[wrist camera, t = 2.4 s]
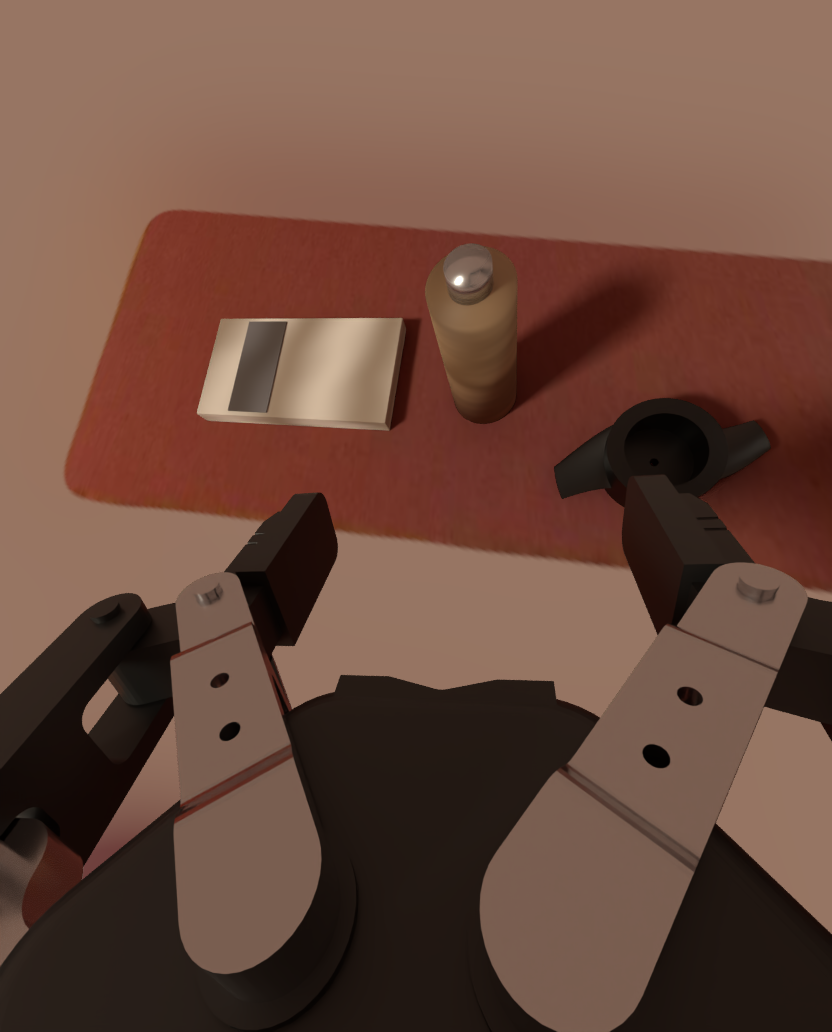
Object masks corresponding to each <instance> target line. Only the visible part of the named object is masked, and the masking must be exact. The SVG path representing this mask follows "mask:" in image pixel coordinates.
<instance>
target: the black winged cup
mask: <svg viewBox="0 0 832 1032" xmlns="http://www.w3.org/2000/svg"><path fill="white" fill-rule="evenodd" d="M769 449H771V446H770V443H769V440H768V438H767V436H766V434H765V433H764V431H763V430H762V428H761V427H760V426H759V425H758V424H757V423H756V422H755V421H754V420H753V421H750V422H747V423H743V424H740V425H736V426H733V427H729V428H724V429H722V428H721V427H720V425H719V424H718V422H717V421H716V420H715V419H714V418H713V417H712V416H711V415H710V414H709V413H708V412H706V411H705V410H703V409H702V408H700V407H698V406H696V405H694V404H692V403H689V402H687V401H683V400H679V399H671V398H659V399H652V400H648V401H644V402H641V403H639V404H637V405H635V406H633V407H631V408H630V409H628V410H627V411H625V412H624V413H623V414H622V415H621V416H620V417H619V418H618V419H617V420H616V422H615V423H614V425H612V426H610V427H608V428H606V429H605V430H603V431H601V432H600V433H598V434H597V435H595V436H594V437H592V438H591V439H589V440H588V441H587V442H585V443H584V444H583V445H581V446H580V447H579V448H577V449H576V450H575V451H573V452H572V453H571V454H570V455H568V456H567V457H566V458H565V459H563V460H562V461H561V462H560V463H559V464H557V465H556V466H555V467H554V472H555V478H556V483H557V486H558V490H559V493H560V495H561V498H562V499H564V498H566V497H569V496H573V495H576V494H579V493H583V492H587V491H591V490H596V489H603V488H604V489H605V490H606V492H607V493H608V494H609V495H610V496H611V497H612V498H613V499H614V500H615V501H616V502H617V503H619V504H620V505H622V506H623V507H625V500H626V492H627V484H628V480H629V478H630V477H631V476H643V475H661V474H664V475H666V476H667V478H668V479H669V481H670V482H671V483H672V485H673V486H674V488H675V489H676V490H677V492H678V493H679V494H681V493H690V494H692V495H694V496H695V497H697V498H698V497H699V496H701V495H702V494H704V493H705V492H707V491H708V490H709V489H711V488H712V487H713V486H714V485H715V484H716V483H717V482H718V480H719V479H722V478H725V477H728V476H730V475H732V474H734V473H736V472H738V471H739V470H741V469H743V468H744V467H746V466H747V465H749V464H750V463H752V462H753V461H754V460H756V459H757V458H759V457H760V456H761V455H763V454H764V453H765V452H767V451H768V450H769ZM650 462H652V463H654V464H655V466H652V465H651V464H650Z"/></svg>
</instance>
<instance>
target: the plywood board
mask: <svg viewBox="0 0 832 1032" xmlns="http://www.w3.org/2000/svg"><path fill="white" fill-rule="evenodd" d="M405 333H406V327H405V324H404V322H403V319H402V318H316V319H221V321H220V325H219V329H218V333H217V337H216V341H215V344H214V348H213V352H212V356H211V360H210V364H209V368H208V372H207V375H206V379H205V383H204V387H203V391H202V395H201V399H200V403H199V406H198V410H197V414H198V415H200V416H201V417H203V418H204V419H206V420H207V421H224V422H242V423H261V424H279V425H298V426H316V427H335V428H353V429H372V430H390V425H391V419H392V413H393V407H394V401H395V394H396V388H397V382H398V376H399V370H400V364H401V358H402V352H403V346H404V340H405Z"/></svg>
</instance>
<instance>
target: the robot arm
mask: <svg viewBox="0 0 832 1032" xmlns="http://www.w3.org/2000/svg"><path fill="white" fill-rule="evenodd" d="M622 544H623V550H624V554H625V556H626V559H627V561H628V564H629V566H630V569H631V571H632V573H633V576H634V578H635V581H636V583H637V586H638V588H639V590H640V593H641V595H642V598H643V600H644V603H645V605H646V608H647V610H648V613H649V614H650V618H651V620H652V622H653V625H654V627H655V629H656V632H657V635H658V636H657V637H656V639H655V640H654V642H653V643H652V645H651V646H650V647H649V649H648V651H647V652H646V653H645V655H644V656H643V657H642V659H641V660H640V662H639V663H638V665H637V666H636V667H635V669H634V670H633V672H632V673H631V675H630V676H629V678H628V679H627V680H626V682H625V683H624V685H623V686H622V688H621V689H620V690H619V692H618V693H617V695H616V696H615V698H614V699H613V701H612V702H611V703H610V705H609V706H608V708H607V709H606V711H605V712H604V713H603V715H602V716H601V718H600V717H598V716H596V715H595V714H593V713H591V712H589V711H587V710H585V709H583V708H581V707H579V706H576V705H573V704H570V703H568V702H565V701H561V700H558V699H556V695H555V687H554V682H553V681H527V680H493V681H488V682H483V683H477V684H472V685H467V686H462V687H456V688H451V689H446V690H438V689H433V688H430V687H426V686H422V685H419V684H415V683H411V682H407V681H404V680H400V679H397V678H393V677H389V676H355V675H341V676H340V679H339V682H338V684H337V687H336V690H335V692H333V693H328V694H325V695H322V696H319V697H316V698H314V699H311V700H309V701H307V702H305V703H303V704H301V705H299V706H297V707H296V708H294V709H292V707H291V704H290V701H289V699H288V696H287V693H286V690H285V688H284V685H283V682H282V679H281V676H280V674H279V671H278V668H277V665H276V662H275V660H274V658H273V655H272V652H273V650H274V648H275V646H295V644H296V642H297V640H298V638H299V636H300V633H301V631H302V629H303V627H304V625H305V623H306V621H307V619H308V617H309V615H310V613H311V611H312V608H313V606H314V604H315V602H316V600H317V598H318V596H319V594H320V592H321V590H322V588H323V586H324V584H325V581H326V579H327V577H328V575H329V573H330V571H331V569H332V566H333V565H334V563H335V560H336V557H337V552H338V543H337V537H336V534H335V530H334V527H333V523H332V519H331V516H330V512H329V509H328V505H327V501H326V499H325V497H324V495H323V494H322V493H304V494H294V495H293V496H292V498H291V499H290V500H289V501H288V503H287V504H286V505H285V507H284V508H283V509H282V511H281V512H277V513H276V514H274V515H273V516H271V517H270V518H269V519H267V520H266V521H264V522H263V523H262V525H261V526H260V527H259V528H258V530H257V531H256V532H255V535H253V536H252V537H251V539H250V540H249V541H248V545H245V546H244V547H243V549H242V550H241V551H240V553H239V554H238V555H237V556H236V558H235V559H234V560H233V561H232V563H231V564H230V565H229V566H228V568H227V569H226V570H225V571H224V572H221V573H215V574H210V575H207V576H204V577H202V578H200V579H198V580H196V581H194V582H193V583H191V584H190V585H188V586H187V587H186V588H185V589H184V590H183V591H182V592H181V593H180V594H179V596H178V598H177V600H176V603H172V604H167V605H163V606H159V607H154V608H150V609H147V608H146V606H145V604H144V603H143V601H142V600H141V598H140V597H139V596H138V595H136V594H133V593H125V594H119V595H115V596H112V597H109V598H107V599H104V600H102V601H100V602H98V603H96V604H95V605H93V606H91V607H90V608H89V609H87V610H86V611H84V612H83V613H82V614H81V615H80V616H79V617H78V618H77V619H76V620H75V621H74V622H73V623H72V624H71V625H70V626H69V627H68V628H67V629H66V630H65V631H64V632H63V633H62V634H61V635H60V636H59V637H58V638H57V639H56V640H55V641H54V642H53V643H52V644H51V645H50V646H49V647H48V648H47V649H46V650H45V651H44V652H43V653H42V654H41V655H40V656H39V657H38V658H37V659H36V660H35V661H34V662H33V663H32V664H31V665H30V666H29V667H28V668H26V670H25V671H24V672H22V673H21V674H20V675H19V676H18V678H16V679H15V680H14V681H13V683H11V684H10V685H9V686H8V687H7V688H6V689H5V690H4V691H3V692H2V693H1V694H0V1032H832V934H831V933H830V932H829V931H828V930H827V929H826V928H825V927H823V926H822V925H821V924H820V923H819V922H818V921H817V920H816V919H815V918H814V917H813V916H812V915H811V914H810V913H809V912H808V911H807V910H806V909H804V907H803V906H802V905H800V904H799V903H798V902H797V901H796V900H795V899H794V898H793V897H792V896H791V895H790V894H789V893H788V892H787V891H786V890H785V889H784V888H783V887H782V886H781V885H780V884H778V883H777V881H775V880H774V879H773V878H772V877H771V876H770V875H769V874H768V873H767V872H766V871H765V870H764V869H763V868H762V867H761V866H760V865H759V864H758V863H757V862H756V861H755V860H754V859H752V858H751V857H750V856H749V855H748V854H747V853H746V852H745V851H744V850H743V849H742V848H741V847H740V846H739V845H738V844H737V843H736V842H735V841H734V840H733V839H731V837H730V836H728V835H727V834H726V833H725V832H724V831H723V830H722V829H721V828H720V827H719V826H718V825H717V824H716V821H717V819H718V816H719V814H720V812H721V809H722V807H723V804H724V801H725V799H726V797H727V795H728V792H729V790H730V787H731V785H732V782H733V780H734V778H735V775H736V773H737V770H738V768H739V765H740V763H741V761H742V758H743V756H744V754H745V751H746V749H747V746H748V744H749V742H750V739H751V737H752V734H753V732H754V729H755V727H756V725H757V722H758V720H759V718H760V715H761V713H762V710H763V708H764V707H768V708H772V709H775V710H779V711H782V712H786V713H790V714H793V715H797V716H800V717H804V718H808V719H811V720H815V721H819V722H821V724H822V726H823V727H824V729H825V731H826V732H827V734H828V736H829V737H830V739H831V741H832V602H828V601H823V600H818V599H813V598H809V597H807V593H806V591H805V589H804V588H803V587H802V585H801V584H799V583H798V582H797V581H796V580H795V579H793V578H792V577H790V576H789V575H787V574H785V573H783V572H781V571H779V570H776V569H774V568H771V567H768V566H764V565H760V564H755V563H754V561H753V560H752V559H751V558H750V556H749V555H748V554H747V553H746V551H745V550H744V549H743V547H742V546H741V545H740V544H739V542H738V541H737V540H736V539H735V537H734V536H733V535H732V534H731V532H730V531H729V530H727V527H726V526H725V525H724V523H723V522H722V521H721V520H720V519H718V516H717V515H716V513H715V512H714V511H713V510H712V508H711V507H710V506H709V504H707V503H706V502H704V501H702V500H701V499H699V498H697V497H695V496H694V495H692V494H690V493H681V494H679V493H678V492H677V490H676V489H675V488H674V486H673V485H672V483H671V482H670V481H669V479H668V478H667V476H666V475H664V474H661V475H643V476H631V477H630V478H629V480H628V484H627V492H626V500H625V509H624V517H623V526H622ZM107 679H109V681H110V682H111V684H112V685H113V686H114V687H115V689H116V690H117V692H118V693H119V694H118V695H117V697H116V698H115V699H114V700H113V702H112V703H111V704H110V706H109V707H108V708H107V710H106V711H105V712H104V714H103V715H102V716H101V718H100V719H99V720H98V722H97V723H96V725H95V726H94V727H93V728H92V730H91V731H90V732H89V734H87V733H86V732H85V730H84V729H83V726H82V715H83V712H84V709H85V707H86V705H87V704H88V702H89V701H90V700H91V698H92V697H93V696H94V695H95V693H96V692H97V691H98V690H99V688H100V687H101V686H102V685H103V684H104V682H105V681H106V680H107ZM173 716H174V717H175V732H176V745H177V758H178V770H179V771H178V772H179V785H180V798H181V799H180V800H179V801H178V802H177V803H175V804H174V805H173V806H172V807H171V808H170V809H168V810H167V811H166V812H164V813H163V814H162V815H161V816H160V817H158V818H157V819H156V820H155V821H153V822H152V823H151V824H150V825H149V826H147V827H146V828H145V829H144V830H143V831H141V832H140V833H139V834H138V835H136V836H135V837H134V838H133V839H132V840H130V841H129V842H128V843H127V844H125V845H124V846H123V847H122V848H121V849H119V850H118V851H117V852H116V853H115V854H113V855H112V856H111V857H110V858H108V859H107V860H106V861H105V862H104V863H102V864H101V865H100V866H99V867H97V868H96V869H95V870H94V871H92V872H91V873H90V874H89V875H88V876H86V877H85V878H84V879H83V880H82V876H83V867H84V865H85V863H86V862H87V860H88V858H89V857H90V855H91V853H92V851H93V850H94V848H95V847H96V845H97V843H98V842H99V840H100V838H101V837H102V835H103V833H104V832H105V830H106V828H107V827H108V825H109V823H110V822H111V820H112V818H113V817H114V815H115V813H116V811H117V810H118V808H119V807H120V805H121V803H122V802H123V800H124V798H125V796H126V795H127V793H128V791H129V790H130V788H131V787H132V785H133V783H134V782H135V780H136V778H137V777H138V775H139V773H140V772H141V770H142V768H143V767H144V765H145V763H146V762H147V760H148V758H149V757H150V755H151V753H152V752H153V750H154V748H155V746H156V745H157V743H158V741H159V740H160V738H161V736H162V735H163V733H164V731H165V730H166V728H167V727H168V725H169V723H170V722H171V719H172V718H173Z"/></svg>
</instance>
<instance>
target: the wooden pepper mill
mask: <svg viewBox="0 0 832 1032" xmlns="http://www.w3.org/2000/svg"><path fill="white" fill-rule="evenodd" d="M425 297H426V301H427V305H428V309H429V312H430V316H431V319H432V323H433V327H434V330H435V334H436V338H437V341H438V345H439V348H440V352H441V356H442V359H443V363H444V366H445V370H446V374H447V377H448V381H449V384H450V388H451V392H452V395H453V399H454V402H455V406H456V408H457V410H458V412H459V413H460V414H461V415H462V416H463V417H464V418H465V419H467V420H469V421H471V422H474V423H479V424H487V423H492V422H495V421H498V420H500V419H501V418H503V417H504V416H505V415H507V414H508V413H509V411H510V410H511V409H512V407H513V405H514V403H515V400H516V386H517V273H516V269H515V267H514V265H513V263H512V262H511V260H510V259H509V258H508V257H507V256H506V255H505V254H503V253H502V252H500V251H498V250H496V249H493V248H490V247H485V246H481V245H478V244H465V245H462V246H459V247H457V248H455V249H454V250H453V251H452V252H450V253H449V255H447V256H446V257H444V258H443V259H442V260H441V261H439V262H438V263H437V265H436V266H435V267H434V268H433V270H432V271H431V273H430V275H429V277H428V279H427V282H426V287H425Z"/></svg>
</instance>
